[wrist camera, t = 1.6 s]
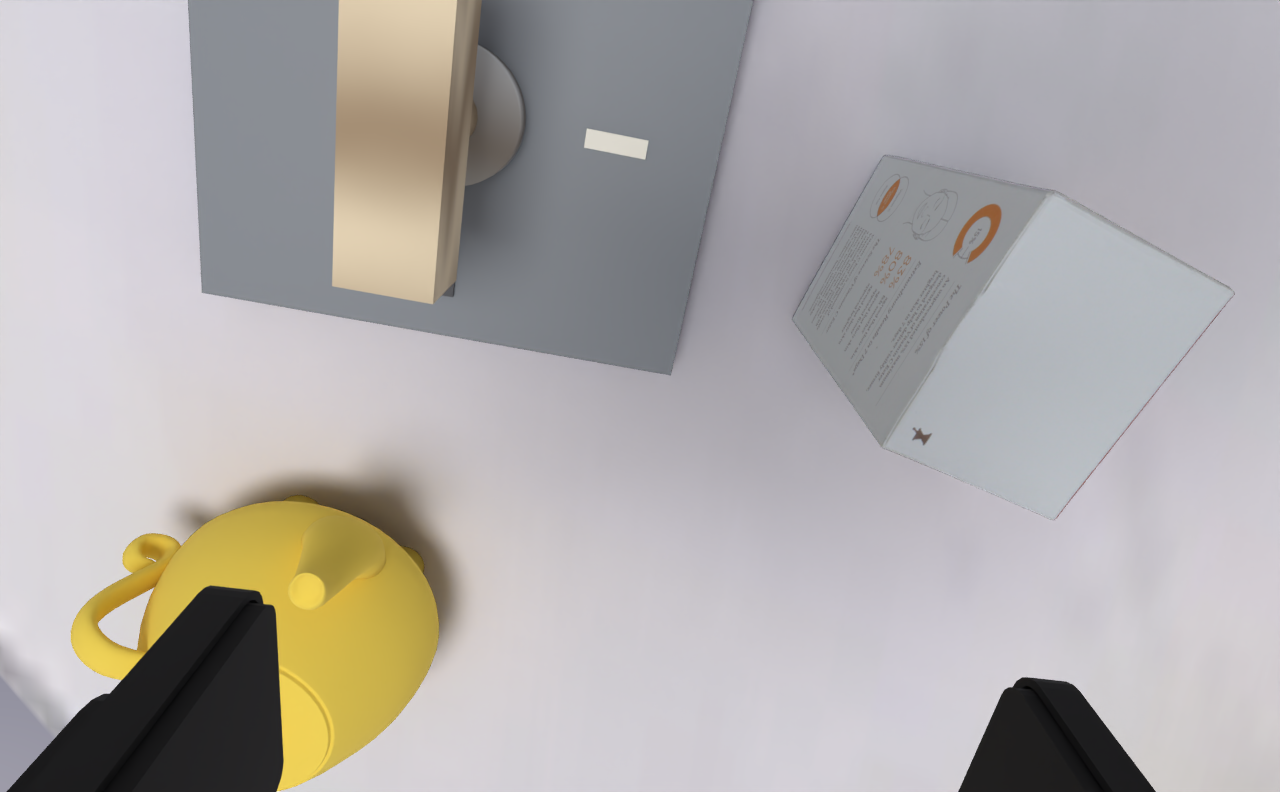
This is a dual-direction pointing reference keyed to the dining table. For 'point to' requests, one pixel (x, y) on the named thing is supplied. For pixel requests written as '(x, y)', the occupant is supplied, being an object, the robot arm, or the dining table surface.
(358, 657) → the teapot
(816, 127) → the dining table surface
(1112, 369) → the small box
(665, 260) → the plate
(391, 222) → the t key
